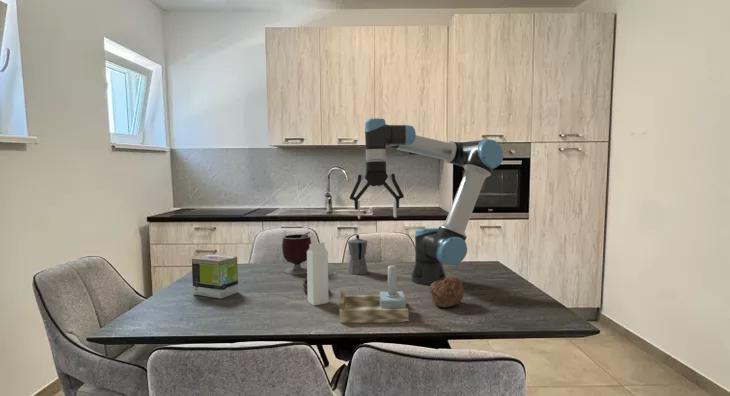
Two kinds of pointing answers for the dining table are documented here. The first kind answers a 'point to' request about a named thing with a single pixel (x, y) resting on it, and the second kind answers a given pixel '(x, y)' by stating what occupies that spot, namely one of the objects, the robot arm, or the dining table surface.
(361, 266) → the coffeepot
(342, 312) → the tray
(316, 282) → the milk
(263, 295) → the dining table surface
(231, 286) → the tea box
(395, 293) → the cylinder on square plate
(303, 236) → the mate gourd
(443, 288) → the decorative rock
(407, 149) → the robot arm
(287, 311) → the dining table surface
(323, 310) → the dining table surface
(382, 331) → the dining table surface
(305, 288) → the pottery mug
